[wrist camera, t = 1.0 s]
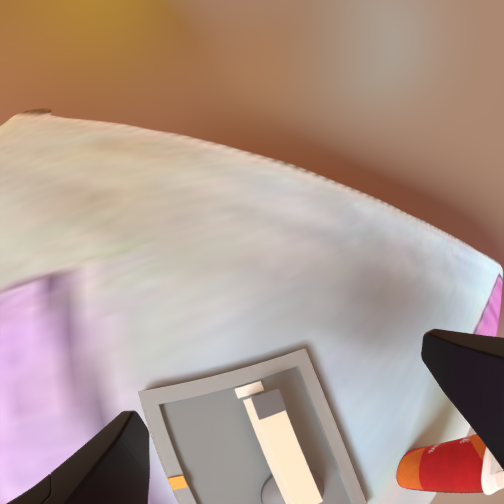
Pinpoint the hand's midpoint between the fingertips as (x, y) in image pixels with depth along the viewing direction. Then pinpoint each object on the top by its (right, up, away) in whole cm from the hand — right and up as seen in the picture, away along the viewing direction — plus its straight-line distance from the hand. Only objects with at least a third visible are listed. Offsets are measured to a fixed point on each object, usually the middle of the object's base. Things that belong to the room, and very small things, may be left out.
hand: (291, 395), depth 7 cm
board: (0, -17, +13) cm, 21 cm away
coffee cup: (+19, -24, +15) cm, 34 cm away
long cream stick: (+1, -15, +13) cm, 20 cm away
